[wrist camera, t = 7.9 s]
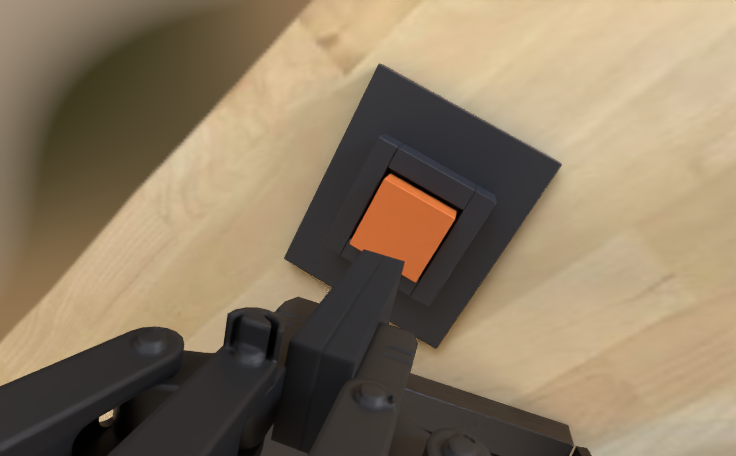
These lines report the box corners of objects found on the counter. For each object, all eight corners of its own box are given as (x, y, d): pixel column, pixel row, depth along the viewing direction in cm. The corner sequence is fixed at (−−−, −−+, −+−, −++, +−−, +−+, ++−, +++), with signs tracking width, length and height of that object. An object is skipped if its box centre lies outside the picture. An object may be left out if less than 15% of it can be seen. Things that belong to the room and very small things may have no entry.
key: (390, 172, 24) (384, 178, 23) (456, 210, 24) (455, 218, 22) (357, 234, 26) (348, 244, 24) (419, 271, 25) (415, 283, 24)
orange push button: (382, 64, 25) (370, 59, 23) (559, 161, 25) (569, 169, 22) (289, 253, 30) (269, 269, 27) (437, 341, 29) (433, 367, 26)
